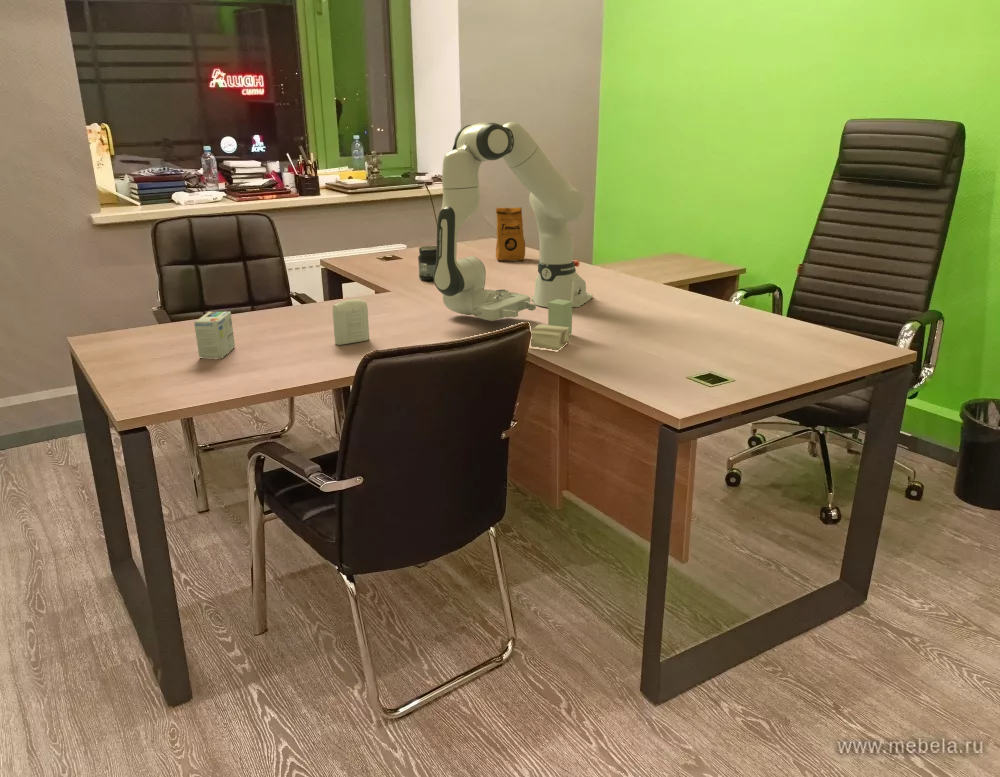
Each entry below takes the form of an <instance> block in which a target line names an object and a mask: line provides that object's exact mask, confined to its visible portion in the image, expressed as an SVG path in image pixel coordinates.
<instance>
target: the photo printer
mask: <svg viewBox="0 0 1000 777" xmlns="http://www.w3.org/2000/svg"><path fill="white" fill-rule="evenodd" d="M332 319H333V320H332V321H333V335H334V343H335V345H337V346H340V345H341V346H342V345H348V344H353V343H359V342H365V341H369V340H370V327H369V307H368V304H367V301H365V300H364V299H356V298H354V299H353V298H352V299H351V298H350V299H344V300H342V301H339V302H337V303H335V304H333V305H332Z"/></svg>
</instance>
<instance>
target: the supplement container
mask: <svg viewBox="0 0 1000 777" xmlns="http://www.w3.org/2000/svg"><path fill="white" fill-rule="evenodd" d="M436 251H437V245H424V246H420V247H418V253H419V255H418V257H417V260H418V277H419V280H421V281H423V280H424V281H423V282H434V280H433V274H434V269H435V265H436Z"/></svg>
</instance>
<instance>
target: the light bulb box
mask: <svg viewBox="0 0 1000 777" xmlns="http://www.w3.org/2000/svg"><path fill="white" fill-rule="evenodd" d="M193 322H194V323H193V324H194V331H195V337H196V344H197V352H198V358H199V357H202V358H222V357H224V356H225V355H226V354H227V353H228V352H229V351H231V350H232V349H233V348H234V347H235V348H236V345H235V344H236V343H235V336H234V329H233V321H232V312H231V311H229V310H228V311H207V312H206V313H205V314H203V315H202V316H201V317H200V318H198V319H196V320H195V321H193ZM235 348H234V349H235ZM234 349H233V350H234ZM233 350H232V351H233ZM232 351H231V352H232ZM227 355H228V354H227ZM227 355H226V356H227ZM226 356H225V357H226ZM225 357H224V358H225Z"/></svg>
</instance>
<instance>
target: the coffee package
mask: <svg viewBox="0 0 1000 777" xmlns="http://www.w3.org/2000/svg"><path fill="white" fill-rule="evenodd" d="M522 211H523V208H522V207H496V208H495V213H496V237H497V238H496V248H495V258H496V260H498V261H502V260H523V261H524V259H525V257H526V240H525V236H524V229H523V228H524V224H523V214H522V213H523V212H522Z"/></svg>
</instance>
